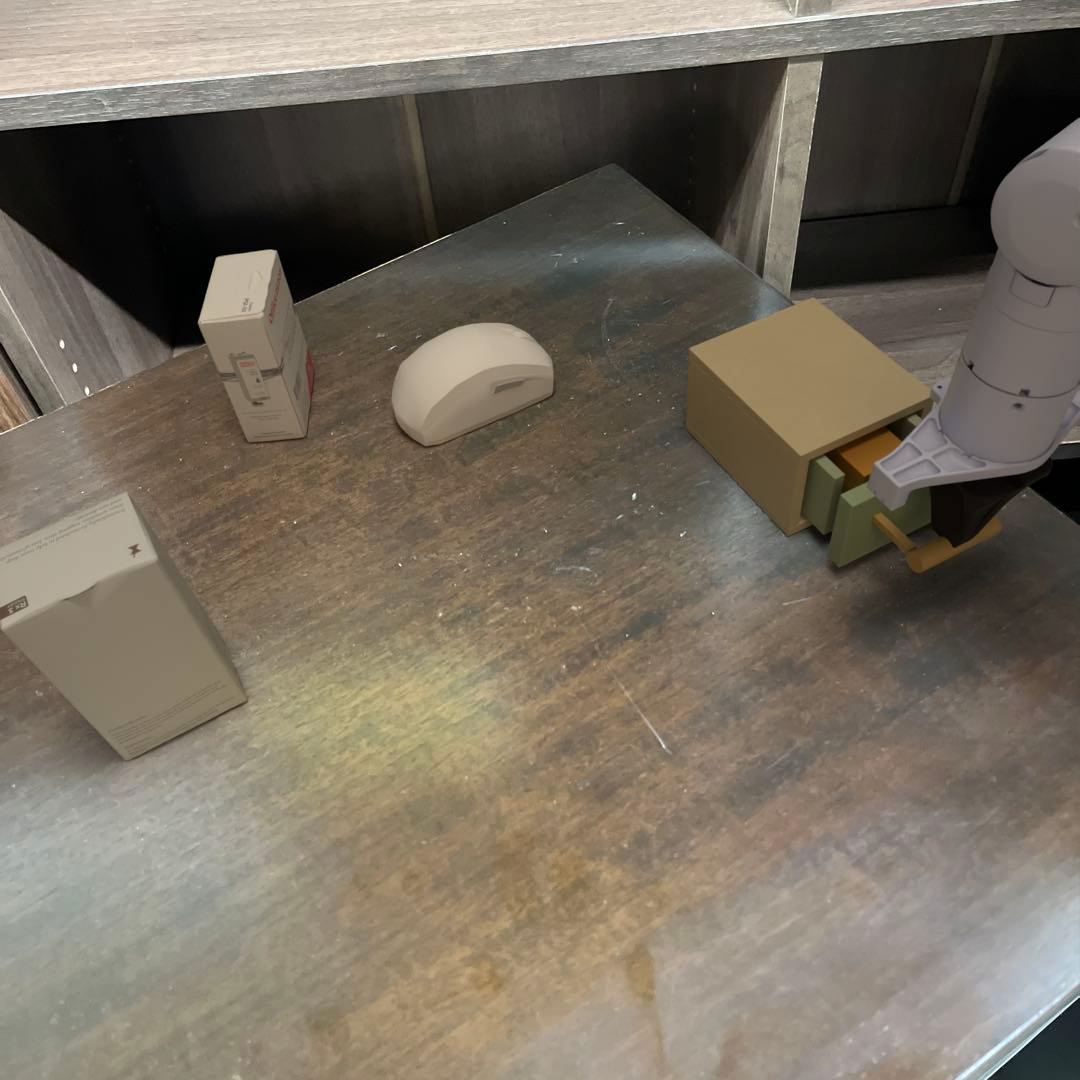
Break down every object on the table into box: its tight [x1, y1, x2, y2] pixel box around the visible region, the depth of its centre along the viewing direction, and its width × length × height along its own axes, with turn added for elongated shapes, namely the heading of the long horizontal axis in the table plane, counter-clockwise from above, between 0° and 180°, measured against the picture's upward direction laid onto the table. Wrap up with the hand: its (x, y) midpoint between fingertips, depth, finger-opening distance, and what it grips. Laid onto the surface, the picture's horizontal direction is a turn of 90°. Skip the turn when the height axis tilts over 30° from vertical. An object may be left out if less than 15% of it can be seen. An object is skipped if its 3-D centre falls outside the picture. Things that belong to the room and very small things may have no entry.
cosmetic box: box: [0, 491, 248, 762], centre depth 56 cm, size 8×6×15 cm
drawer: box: [801, 413, 1003, 574], centre depth 64 cm, size 16×9×6 cm, turn 27°
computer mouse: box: [390, 322, 555, 447], centre depth 76 cm, size 6×13×6 cm, turn 118°
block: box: [824, 426, 902, 494], centre depth 65 cm, size 4×4×4 cm
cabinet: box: [685, 296, 935, 537], centre depth 69 cm, size 13×11×8 cm
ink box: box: [197, 249, 315, 443], centre depth 75 cm, size 9×5×12 cm, turn 3°
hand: (949, 533), depth 59 cm, fingers closed, pressing on drawer
